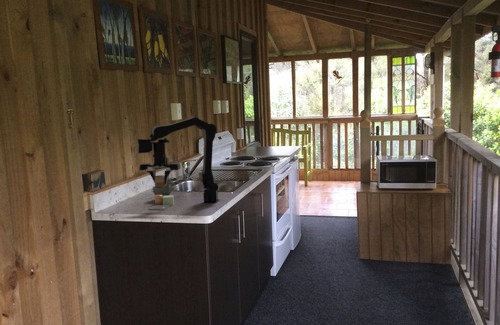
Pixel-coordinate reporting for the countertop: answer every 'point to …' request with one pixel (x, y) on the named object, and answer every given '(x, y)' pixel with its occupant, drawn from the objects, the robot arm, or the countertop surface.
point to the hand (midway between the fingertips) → (160, 184)
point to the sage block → (168, 200)
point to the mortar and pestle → (163, 189)
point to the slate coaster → (159, 207)
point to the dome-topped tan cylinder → (158, 199)
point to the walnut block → (160, 181)
